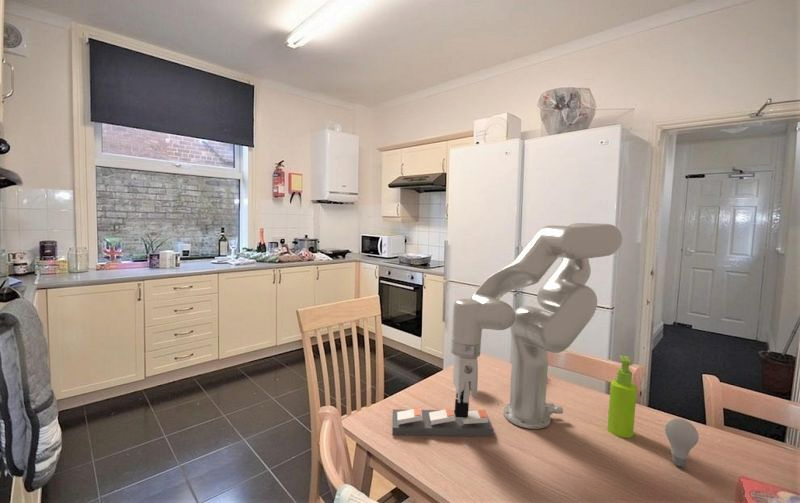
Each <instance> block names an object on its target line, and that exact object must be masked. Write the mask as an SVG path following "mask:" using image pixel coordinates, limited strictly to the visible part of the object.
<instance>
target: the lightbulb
mask: <svg viewBox="0 0 800 503" xmlns="http://www.w3.org/2000/svg"><path fill="white" fill-rule="evenodd" d="M664 433H665V435H666V437H667V440H668V441H669V444H670V453H671V462H672V463H673V464H674V465H675V466H676V467H679V468H681V467H686V464H687V459H688V458H689V455H690V452H691V450H692V449H693V448H694V447H695V446H697V444H698V443H699V438H700V437H699V436H700V435H699V431H698V430H697V429H696V427H695V426H694V424H693V423H691V422H690V421H688V420H686V419H683V418H678V417H677V418H671V419H670V420H668V421H667V422H666V424H665V426H664Z"/></svg>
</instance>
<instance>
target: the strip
mask: <svg viewBox="0 0 800 503" xmlns="http://www.w3.org/2000/svg"><path fill="white" fill-rule="evenodd" d="M406 410H407V409H398V408H397V409H395V408H394V409H393V408H392V426H391V427H392V428H391V434H392V436H424V437H425V436H428V437H429V436H431V437H436V436H437V437H440V436H441V437H494V427H493V425H492V423H491V420H490V419H489V416H488V413H486V415H487V417H488V423H472V424H463V421H462V418H461V417H456V416H455V421H450V422H445V423H440V424H434V425H431V421H430V415H429V412H434V411H440V410H441V409H421V411H422V418H423V420H420V421H415V422H410V423H404V424H399V425H398V421H397V412H400V411H406ZM468 411H470V410H469V409H468ZM453 412H454V415H455V409H453Z"/></svg>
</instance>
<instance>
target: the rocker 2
mask: <svg viewBox="0 0 800 503" xmlns="http://www.w3.org/2000/svg"><path fill="white" fill-rule="evenodd" d="M486 414H487V411H486V410H485V409H478V410H477V409H476V410H469V411H468V417H467V418H463V417H461V418H462V421H463V424H472V423H488V418H489V416H488V414H487V415H486ZM487 416H488V417H487Z"/></svg>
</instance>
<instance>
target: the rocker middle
mask: <svg viewBox="0 0 800 503" xmlns="http://www.w3.org/2000/svg"><path fill="white" fill-rule="evenodd" d="M439 410H440V411H434V412H429V415H430V421H431V425H434V424H440V423H445V422H450V421H455V415H454V412H453V410H454V409H453V407H449V408H446V409H439Z"/></svg>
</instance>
